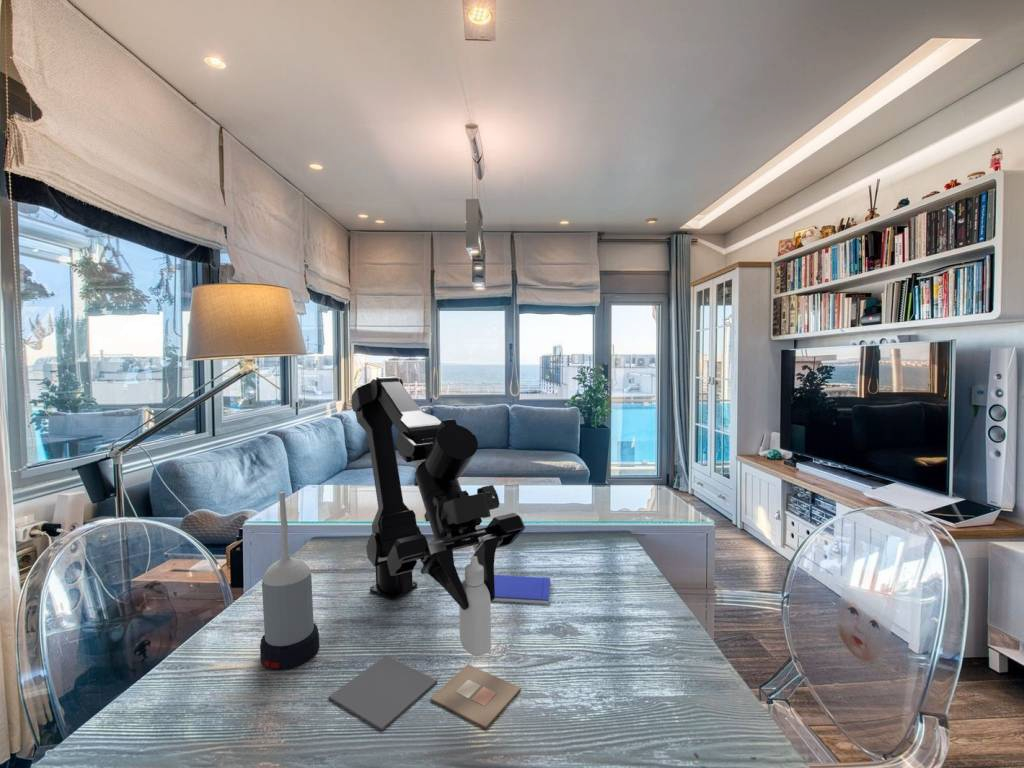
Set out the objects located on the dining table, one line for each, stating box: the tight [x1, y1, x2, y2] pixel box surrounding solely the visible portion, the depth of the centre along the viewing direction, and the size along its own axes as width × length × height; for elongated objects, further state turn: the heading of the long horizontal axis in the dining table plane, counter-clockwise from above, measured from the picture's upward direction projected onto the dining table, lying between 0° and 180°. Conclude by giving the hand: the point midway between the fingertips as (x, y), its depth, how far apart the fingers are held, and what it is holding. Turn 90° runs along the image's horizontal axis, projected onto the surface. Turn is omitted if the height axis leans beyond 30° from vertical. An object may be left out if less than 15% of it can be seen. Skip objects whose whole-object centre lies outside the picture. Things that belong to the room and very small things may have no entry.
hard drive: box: [492, 574, 551, 605], centre depth 93 cm, size 2×8×12 cm
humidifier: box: [259, 490, 320, 672], centre depth 74 cm, size 8×8×25 cm
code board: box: [429, 663, 522, 730], centre depth 66 cm, size 9×8×1 cm
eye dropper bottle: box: [458, 555, 492, 657], centre depth 65 cm, size 4×6×12 cm
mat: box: [328, 655, 438, 731], centre depth 67 cm, size 10×10×1 cm
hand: (479, 604), depth 64 cm, fingers closed on eye dropper bottle, 3 cm apart
